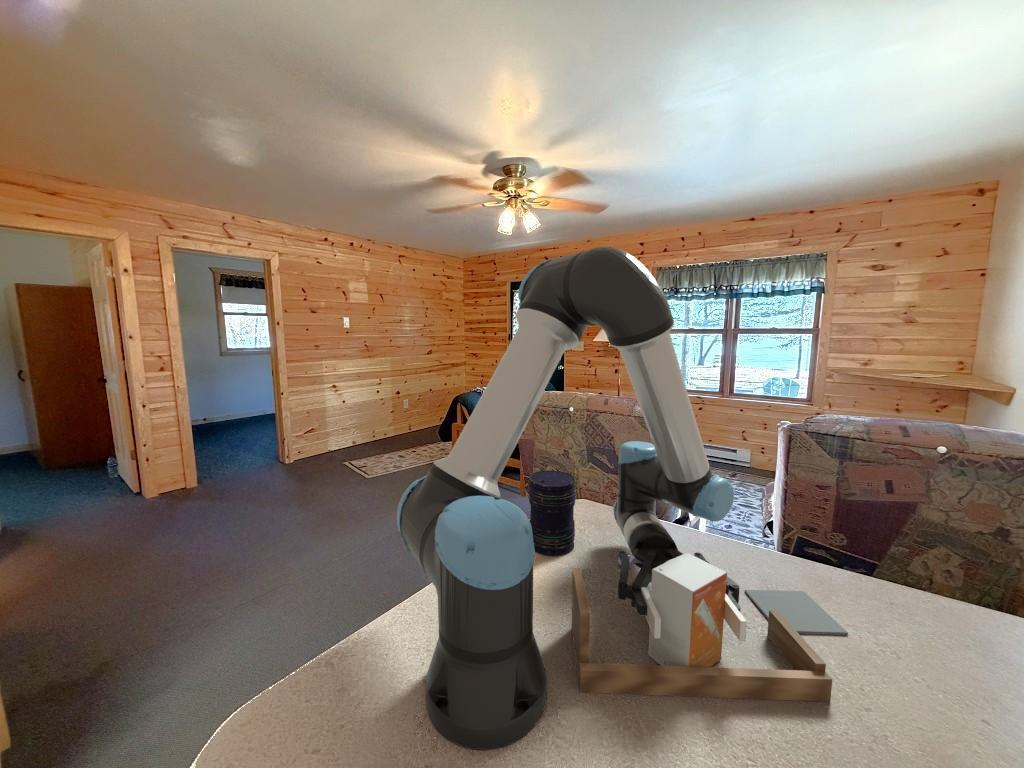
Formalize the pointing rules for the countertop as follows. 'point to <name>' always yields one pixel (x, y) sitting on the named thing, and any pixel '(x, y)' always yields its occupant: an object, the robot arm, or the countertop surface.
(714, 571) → the small box
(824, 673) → the wooden u-shaped frame
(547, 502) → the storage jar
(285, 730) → the countertop surface
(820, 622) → the mat
